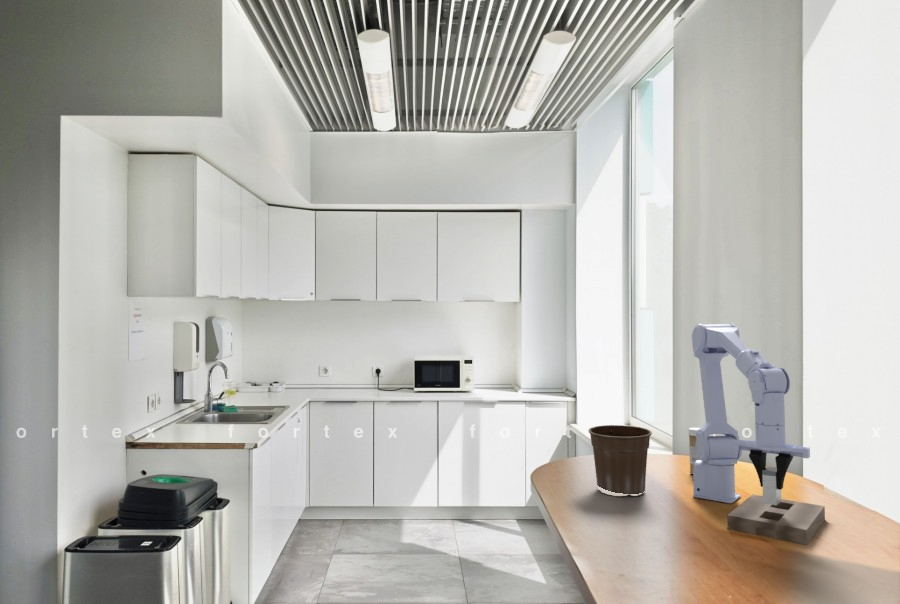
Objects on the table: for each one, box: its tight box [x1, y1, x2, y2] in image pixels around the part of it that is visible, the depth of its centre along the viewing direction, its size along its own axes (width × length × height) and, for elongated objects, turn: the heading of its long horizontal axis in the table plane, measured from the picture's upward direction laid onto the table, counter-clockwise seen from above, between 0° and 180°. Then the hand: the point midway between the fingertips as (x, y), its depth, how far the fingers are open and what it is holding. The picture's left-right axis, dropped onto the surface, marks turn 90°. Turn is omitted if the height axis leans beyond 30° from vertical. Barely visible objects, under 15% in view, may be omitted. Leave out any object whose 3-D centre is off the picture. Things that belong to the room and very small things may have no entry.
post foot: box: [726, 494, 826, 546], centre depth 134 cm, size 15×20×3 cm
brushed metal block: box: [762, 466, 782, 505], centre depth 131 cm, size 3×4×7 cm, turn 140°
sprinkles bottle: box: [688, 427, 701, 475], centre depth 177 cm, size 5×5×14 cm
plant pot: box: [587, 424, 653, 494], centre depth 161 cm, size 16×16×16 cm
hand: (771, 487), depth 131 cm, fingers closed on brushed metal block, 3 cm apart
